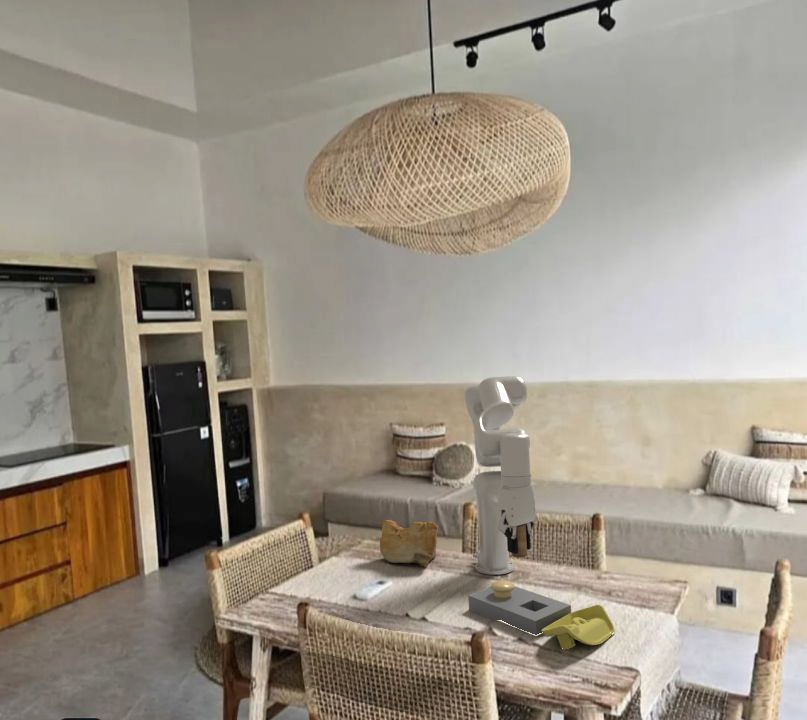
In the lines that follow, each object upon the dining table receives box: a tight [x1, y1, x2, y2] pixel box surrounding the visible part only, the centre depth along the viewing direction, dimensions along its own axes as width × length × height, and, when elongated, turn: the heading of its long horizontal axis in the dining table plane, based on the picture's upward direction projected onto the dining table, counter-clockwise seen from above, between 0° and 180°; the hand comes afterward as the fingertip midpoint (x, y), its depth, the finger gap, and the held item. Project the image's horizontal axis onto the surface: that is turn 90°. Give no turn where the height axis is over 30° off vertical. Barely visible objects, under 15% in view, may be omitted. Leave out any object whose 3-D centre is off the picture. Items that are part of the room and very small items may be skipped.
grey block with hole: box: [467, 580, 572, 635], centre depth 180 cm, size 24×14×7 cm, turn 38°
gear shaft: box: [510, 524, 528, 558], centre depth 175 cm, size 4×4×8 cm
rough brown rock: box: [379, 519, 439, 568], centre depth 229 cm, size 23×17×15 cm
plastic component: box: [542, 604, 615, 651], centre depth 163 cm, size 20×7×10 cm
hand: (519, 549), depth 175 cm, fingers closed on gear shaft, 4 cm apart
